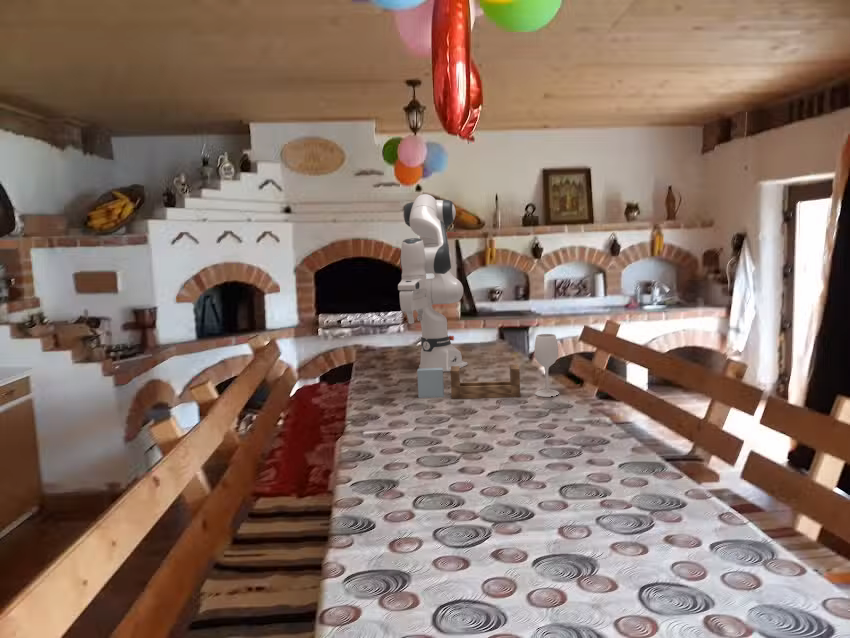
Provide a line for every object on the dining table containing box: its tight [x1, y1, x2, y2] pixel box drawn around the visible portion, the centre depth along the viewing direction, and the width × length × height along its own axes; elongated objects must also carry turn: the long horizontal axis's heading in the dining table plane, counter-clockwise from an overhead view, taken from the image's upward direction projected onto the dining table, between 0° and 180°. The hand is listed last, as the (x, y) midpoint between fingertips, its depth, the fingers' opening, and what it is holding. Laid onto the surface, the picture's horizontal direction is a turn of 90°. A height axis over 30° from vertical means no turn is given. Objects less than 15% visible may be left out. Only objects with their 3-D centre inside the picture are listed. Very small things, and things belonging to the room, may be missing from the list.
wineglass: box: [534, 333, 560, 398], centre depth 229 cm, size 9×9×21 cm
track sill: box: [449, 363, 521, 400], centre depth 233 cm, size 24×8×10 cm, turn 86°
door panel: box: [416, 367, 445, 399], centre depth 235 cm, size 9×4×10 cm, turn 86°
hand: (415, 322), depth 236 cm, fingers open, 8 cm apart
